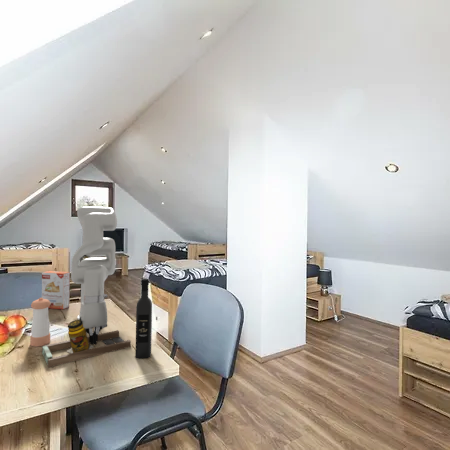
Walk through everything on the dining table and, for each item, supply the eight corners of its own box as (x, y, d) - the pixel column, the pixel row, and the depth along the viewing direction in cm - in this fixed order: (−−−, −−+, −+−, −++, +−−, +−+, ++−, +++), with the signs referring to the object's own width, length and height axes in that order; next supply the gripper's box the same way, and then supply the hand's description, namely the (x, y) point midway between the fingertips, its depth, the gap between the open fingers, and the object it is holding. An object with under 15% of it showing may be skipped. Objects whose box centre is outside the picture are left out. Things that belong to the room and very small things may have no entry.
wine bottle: (150, 358, 119) (151, 280, 118) (135, 359, 118) (136, 280, 117) (151, 352, 124) (152, 277, 124) (136, 352, 123) (138, 277, 123)
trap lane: (41, 352, 122) (41, 344, 121) (117, 335, 140) (117, 329, 140) (48, 367, 110) (48, 359, 110) (130, 347, 129) (130, 339, 128)
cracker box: (40, 308, 178) (41, 272, 178) (48, 305, 184) (48, 270, 184) (62, 310, 176) (63, 273, 175) (69, 307, 182) (70, 271, 181)
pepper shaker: (38, 347, 126) (39, 300, 125) (26, 344, 128) (26, 298, 128) (54, 341, 133) (54, 296, 132) (41, 338, 135) (42, 294, 135)
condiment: (77, 357, 118) (70, 329, 116) (66, 351, 123) (59, 324, 120) (94, 347, 124) (88, 319, 121) (83, 341, 129) (77, 315, 126)
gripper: (109, 294, 133) (108, 336, 133) (71, 299, 124) (71, 345, 124) (115, 298, 127) (114, 342, 128) (76, 303, 118) (75, 351, 118)
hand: (93, 343), depth 126 cm, fingers closed
